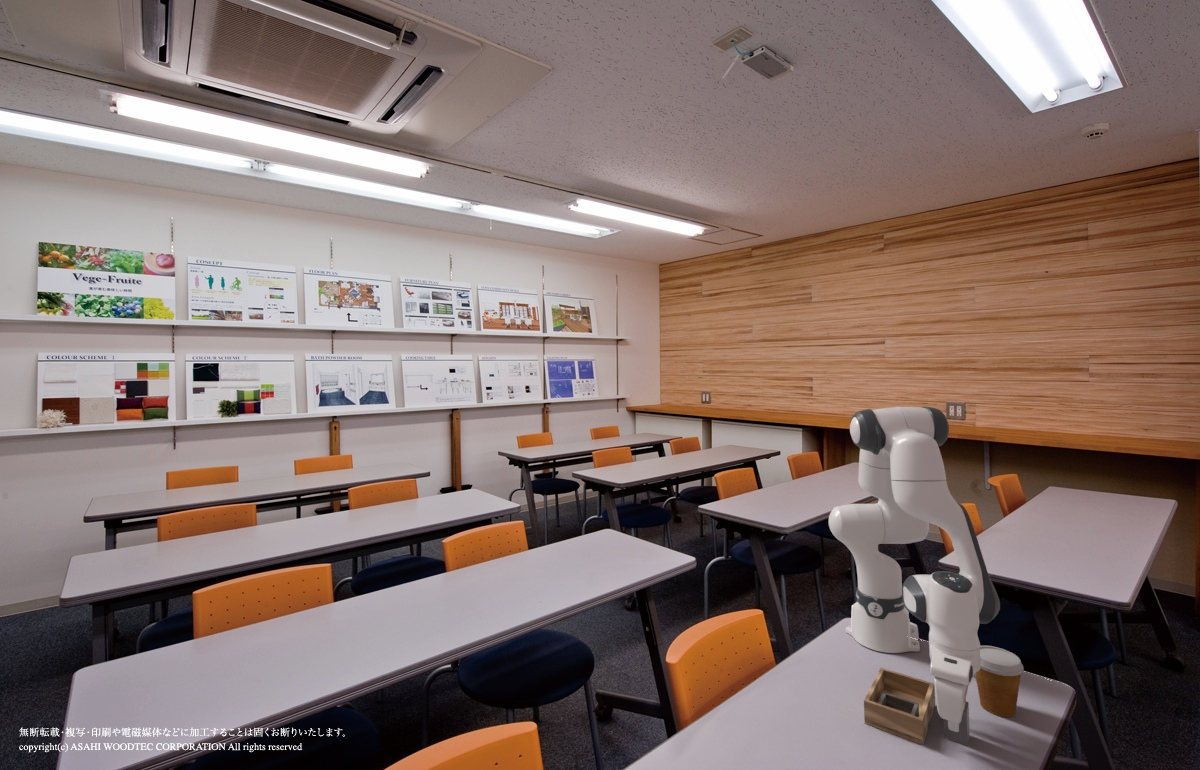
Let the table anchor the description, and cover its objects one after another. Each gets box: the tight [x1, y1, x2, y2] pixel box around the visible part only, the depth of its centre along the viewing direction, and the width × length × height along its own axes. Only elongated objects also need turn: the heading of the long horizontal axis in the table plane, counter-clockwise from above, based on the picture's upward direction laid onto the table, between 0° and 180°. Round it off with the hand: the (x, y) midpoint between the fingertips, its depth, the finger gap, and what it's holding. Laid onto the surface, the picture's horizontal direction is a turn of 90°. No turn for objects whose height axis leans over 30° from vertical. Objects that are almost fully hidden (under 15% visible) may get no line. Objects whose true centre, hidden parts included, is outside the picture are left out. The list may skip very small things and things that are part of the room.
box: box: [863, 667, 936, 746], centre depth 115 cm, size 16×11×5 cm
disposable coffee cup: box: [974, 645, 1024, 718], centre depth 116 cm, size 10×10×12 cm
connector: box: [943, 699, 970, 747], centre depth 107 cm, size 4×4×8 cm
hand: (956, 719), depth 107 cm, fingers open, 6 cm apart
